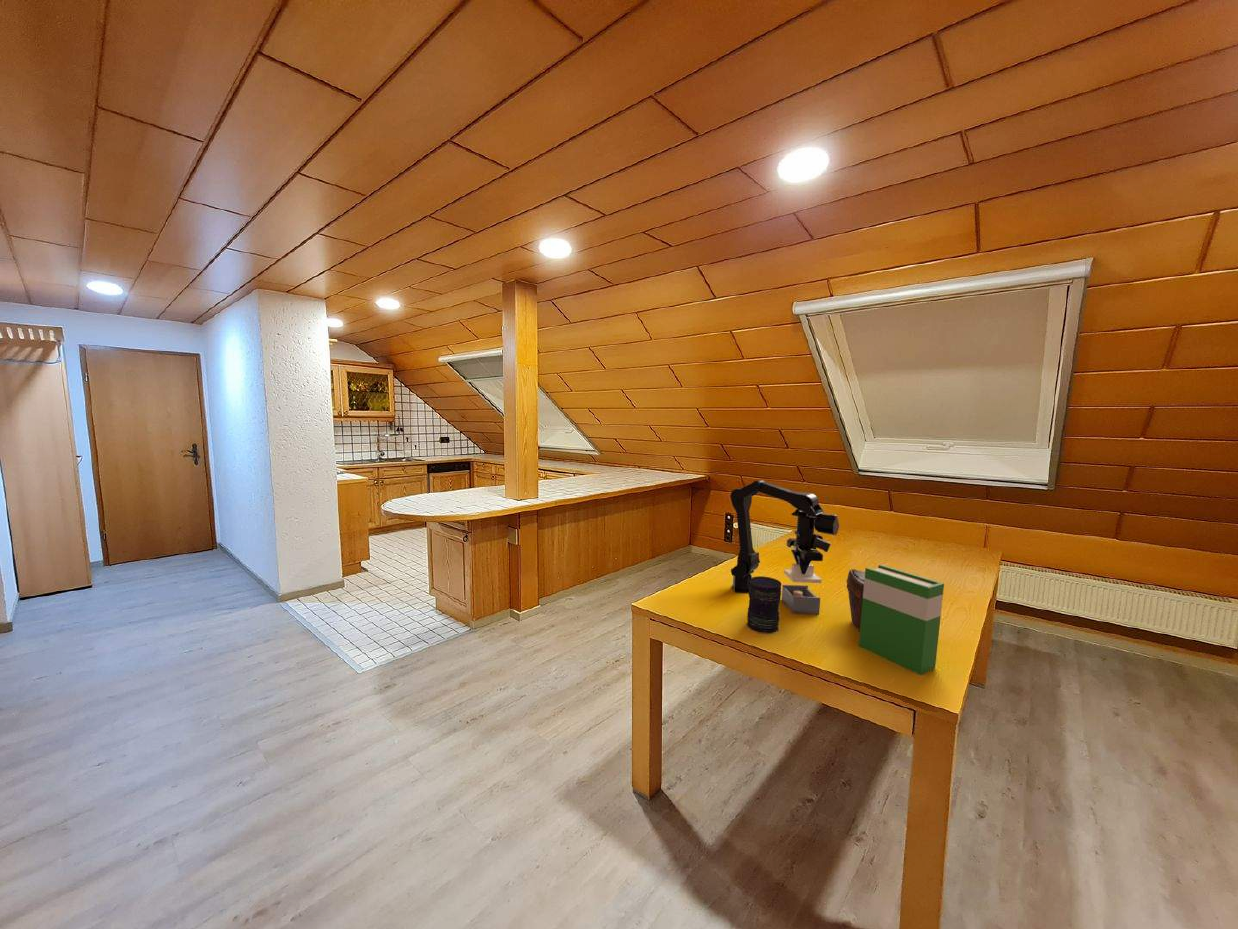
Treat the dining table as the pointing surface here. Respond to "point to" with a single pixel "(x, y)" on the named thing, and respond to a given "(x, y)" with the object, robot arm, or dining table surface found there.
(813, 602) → the grey open box
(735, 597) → the dining table surface
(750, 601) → the storage jar
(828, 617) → the dining table surface
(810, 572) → the lid
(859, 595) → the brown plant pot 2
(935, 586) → the hardback book
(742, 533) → the robot arm
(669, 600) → the dining table surface
